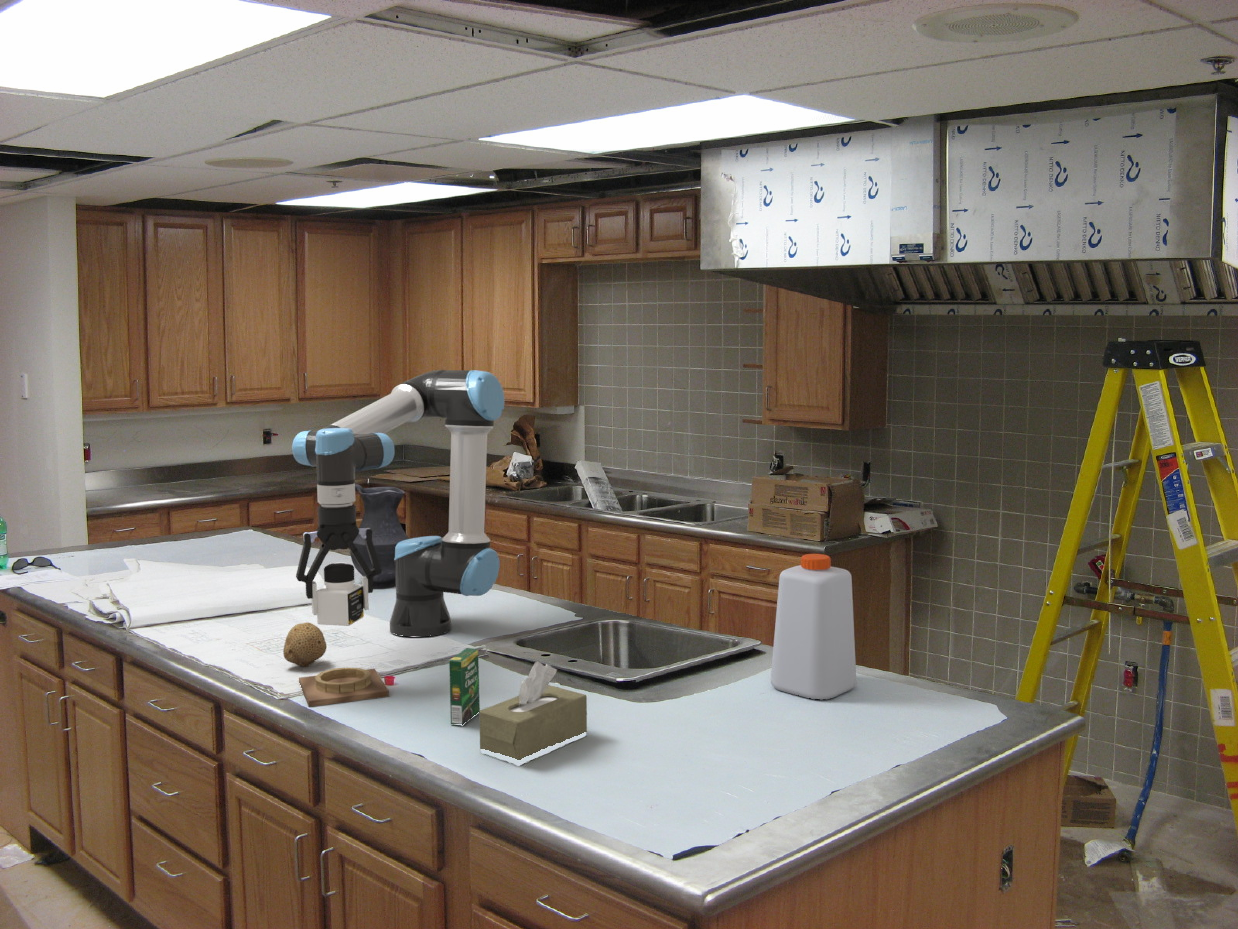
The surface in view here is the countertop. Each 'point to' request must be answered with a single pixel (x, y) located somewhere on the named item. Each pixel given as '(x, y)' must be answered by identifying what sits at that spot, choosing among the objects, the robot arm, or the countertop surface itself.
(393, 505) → the pitcher
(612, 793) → the countertop surface
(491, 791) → the countertop surface
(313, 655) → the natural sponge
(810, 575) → the plastic bottle
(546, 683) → the tissue box
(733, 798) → the countertop surface
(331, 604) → the medicine bottle
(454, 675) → the coffee box
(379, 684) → the collar board
